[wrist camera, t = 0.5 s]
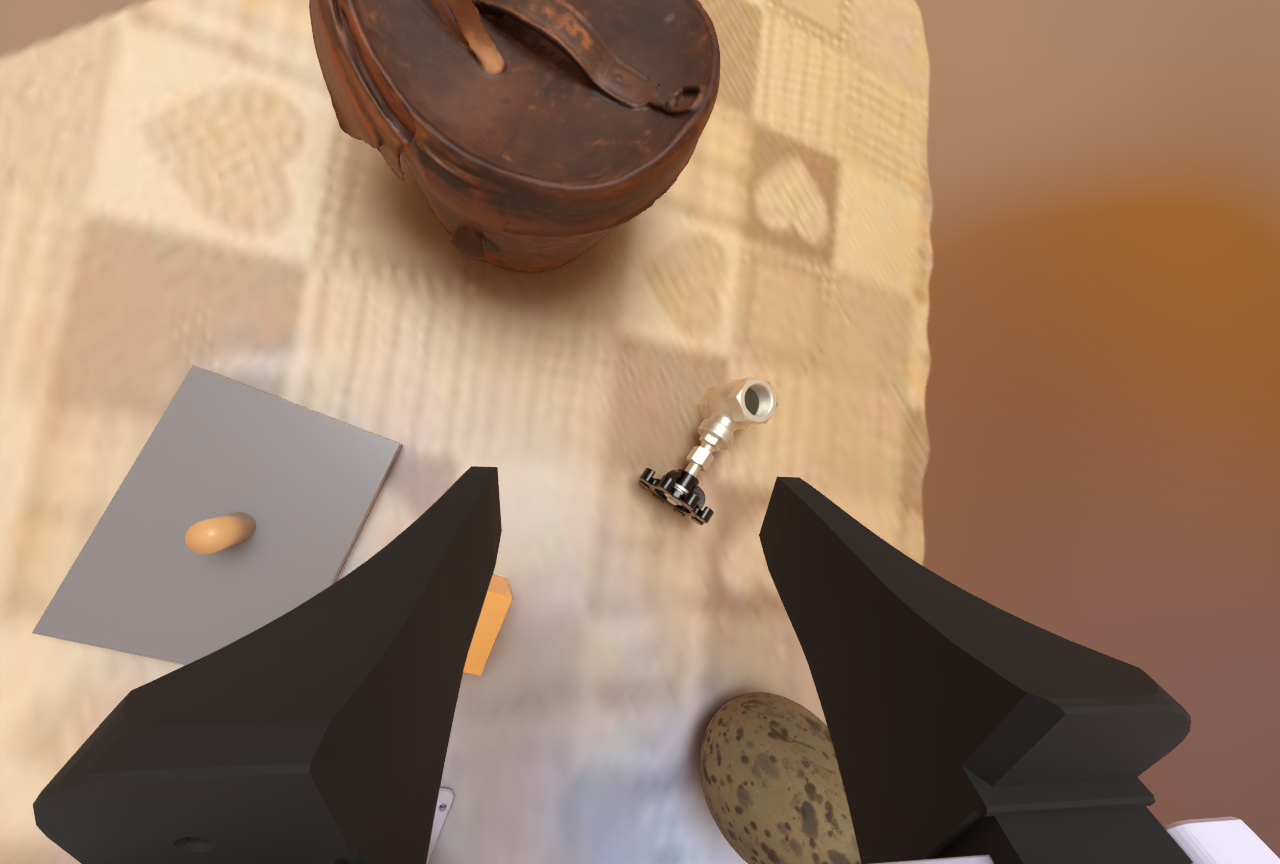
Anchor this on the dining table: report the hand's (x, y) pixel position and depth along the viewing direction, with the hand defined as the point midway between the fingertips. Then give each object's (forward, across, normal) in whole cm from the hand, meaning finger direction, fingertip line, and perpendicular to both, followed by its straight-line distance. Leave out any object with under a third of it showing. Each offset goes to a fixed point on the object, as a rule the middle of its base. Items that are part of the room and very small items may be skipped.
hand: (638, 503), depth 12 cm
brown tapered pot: (+32, +8, -5) cm, 33 cm away
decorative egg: (+12, -12, +35) cm, 39 cm away
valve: (+25, -8, +13) cm, 29 cm away
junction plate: (+15, +22, +14) cm, 30 cm away
